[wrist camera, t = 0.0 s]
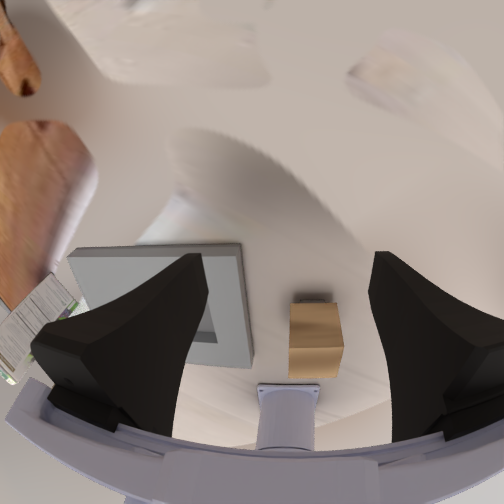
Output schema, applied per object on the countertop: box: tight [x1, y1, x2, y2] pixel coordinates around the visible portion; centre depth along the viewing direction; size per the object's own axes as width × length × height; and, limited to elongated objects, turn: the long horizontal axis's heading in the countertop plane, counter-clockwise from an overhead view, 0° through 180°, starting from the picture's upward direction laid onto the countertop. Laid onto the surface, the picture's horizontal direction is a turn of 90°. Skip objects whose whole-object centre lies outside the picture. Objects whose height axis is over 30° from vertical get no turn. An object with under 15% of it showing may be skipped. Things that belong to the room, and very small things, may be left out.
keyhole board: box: [67, 244, 254, 369], centre depth 26 cm, size 14×18×2 cm
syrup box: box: [0, 273, 78, 385], centre depth 23 cm, size 6×6×14 cm
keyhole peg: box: [288, 300, 344, 378], centre depth 22 cm, size 4×4×6 cm
